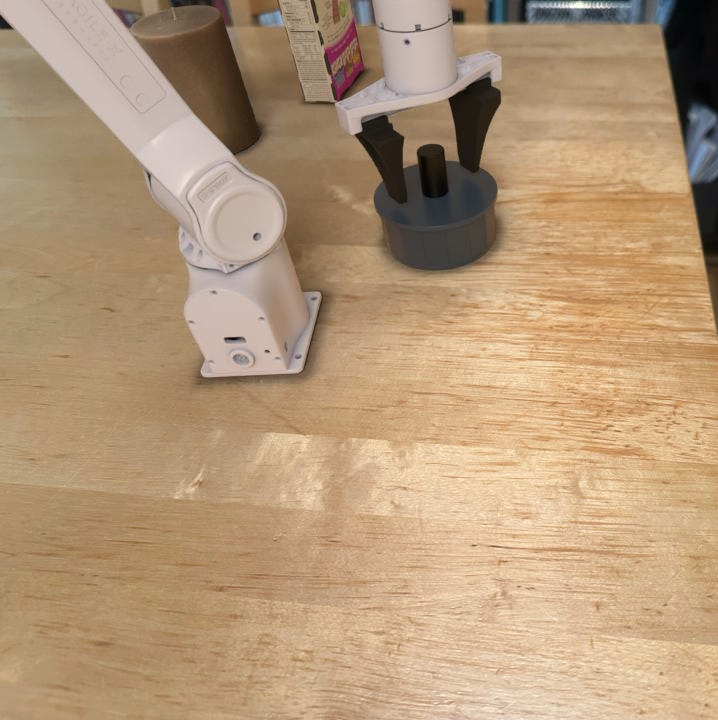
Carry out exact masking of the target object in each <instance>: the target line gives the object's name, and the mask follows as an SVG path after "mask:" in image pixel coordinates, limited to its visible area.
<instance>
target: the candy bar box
mask: <svg viewBox="0 0 718 720" xmlns="http://www.w3.org/2000/svg"><path fill="white" fill-rule="evenodd" d="M276 1H277V4H278V8H279V12H280V16H281V19H282V22H283V26H284V29H285V32H286V37H287V40H288V44H289V48H290V51H291V56H292V59H293V62H294V67H295V70H296V74H297V77H298V80H299V81H298V82H299V84H300V89H301V92H302V95H303V96H302V97H303V99H304V101H305V103H310V104H312V103H313V104H317V103H319V104H335V103H337V102H339V101H341V99H343V97H344V96H345V94H346V93H347V92H348V90H349V89H350V88H351V87H352V85H353V84H354V82H355V81H356V80H357V78H358V77H359V76H360V75H361V73H362V72H363V71H364V70H365V66H364V62H363V55H362V52H361V51H362V50H361V47H360V42H359V41H360V40H359V37H358V32H357V28H356V27H357V26H356V22H355V16H354V11H353V8H352V7H353V6H352V1H351V0H276Z"/></svg>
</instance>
